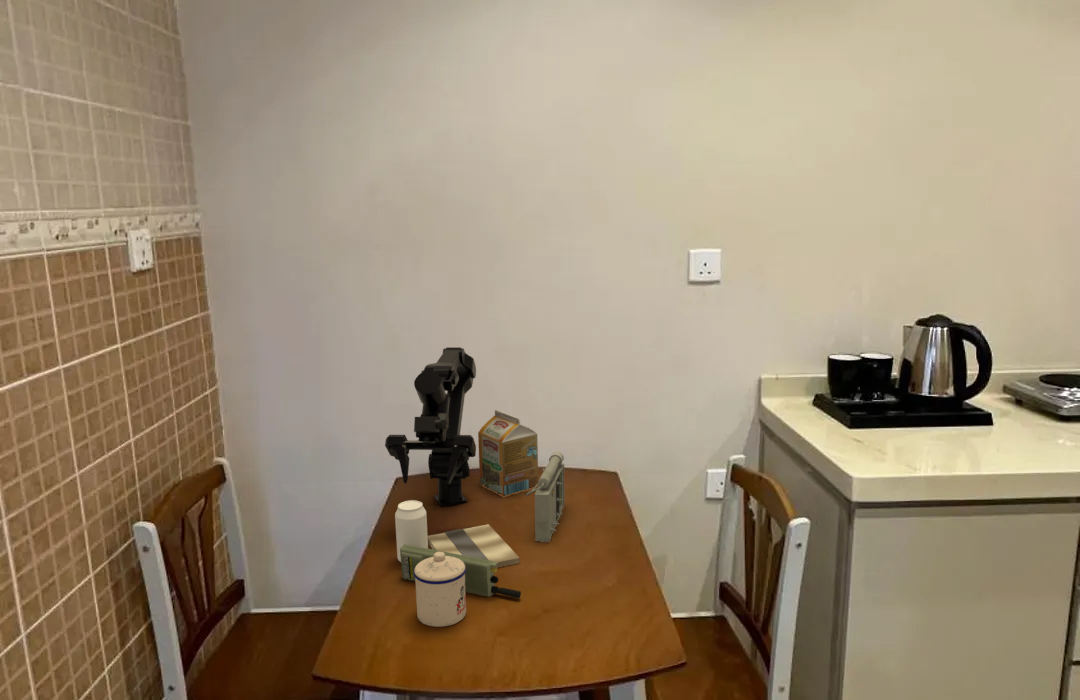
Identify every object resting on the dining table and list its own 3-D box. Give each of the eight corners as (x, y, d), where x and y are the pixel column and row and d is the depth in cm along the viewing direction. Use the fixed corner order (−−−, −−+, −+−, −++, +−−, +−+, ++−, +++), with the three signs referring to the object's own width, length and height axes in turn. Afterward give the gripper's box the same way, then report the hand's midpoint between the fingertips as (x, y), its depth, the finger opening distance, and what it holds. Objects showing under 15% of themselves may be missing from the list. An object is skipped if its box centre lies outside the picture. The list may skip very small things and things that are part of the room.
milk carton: (480, 485, 203) (477, 413, 199) (514, 476, 209) (512, 406, 206) (503, 498, 195) (501, 422, 191) (538, 487, 201) (536, 414, 197)
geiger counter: (553, 480, 167) (572, 443, 191) (523, 479, 168) (546, 442, 192) (553, 543, 170) (572, 498, 194) (524, 541, 171) (546, 497, 195)
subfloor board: (427, 541, 172) (426, 535, 171) (488, 529, 177) (488, 523, 177) (452, 577, 155) (452, 571, 155) (519, 563, 161) (519, 556, 161)
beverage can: (431, 564, 161) (428, 508, 159) (400, 569, 159) (397, 512, 157) (425, 551, 167) (422, 497, 164) (395, 556, 165) (392, 501, 162)
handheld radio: (409, 573, 158) (524, 596, 148) (400, 581, 155) (516, 605, 145) (406, 542, 157) (522, 563, 147) (397, 549, 154) (515, 572, 144)
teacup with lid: (469, 625, 138) (467, 563, 136) (416, 631, 137) (412, 567, 135) (465, 591, 150) (462, 533, 148) (415, 596, 148) (412, 537, 146)
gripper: (384, 398, 170) (373, 467, 162) (471, 399, 168) (465, 468, 160) (395, 422, 179) (386, 488, 171) (478, 422, 178) (472, 489, 170)
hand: (426, 483), depth 168 cm, fingers open, 9 cm apart
